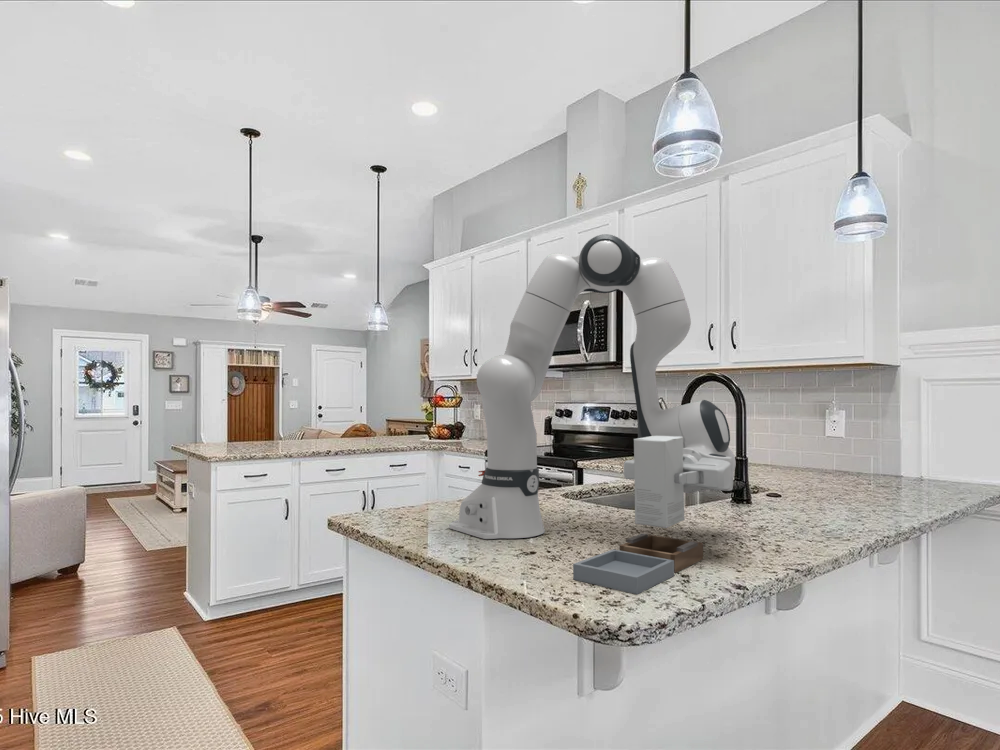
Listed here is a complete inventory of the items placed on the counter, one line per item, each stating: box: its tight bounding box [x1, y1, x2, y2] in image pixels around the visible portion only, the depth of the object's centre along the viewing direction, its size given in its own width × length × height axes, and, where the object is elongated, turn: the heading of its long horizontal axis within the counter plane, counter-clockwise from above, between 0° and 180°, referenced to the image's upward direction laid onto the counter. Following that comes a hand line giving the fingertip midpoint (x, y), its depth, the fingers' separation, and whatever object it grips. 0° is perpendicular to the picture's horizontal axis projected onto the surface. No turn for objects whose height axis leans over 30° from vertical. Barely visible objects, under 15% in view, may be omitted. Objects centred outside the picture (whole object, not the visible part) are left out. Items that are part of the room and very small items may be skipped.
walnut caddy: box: [619, 533, 704, 574], centre depth 109 cm, size 11×12×4 cm
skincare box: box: [633, 436, 685, 529], centre depth 110 cm, size 8×7×16 cm
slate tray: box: [572, 548, 675, 595], centre depth 99 cm, size 12×13×2 cm
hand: (657, 476), depth 109 cm, fingers closed on skincare box, 6 cm apart
